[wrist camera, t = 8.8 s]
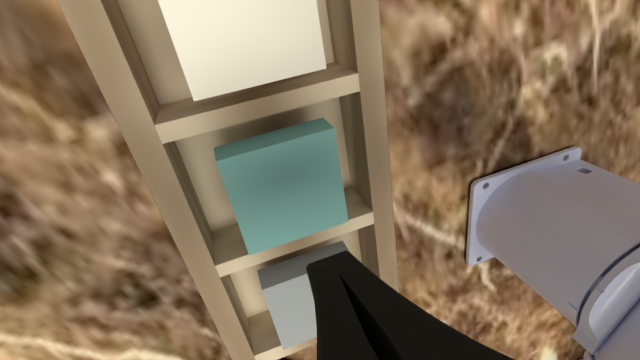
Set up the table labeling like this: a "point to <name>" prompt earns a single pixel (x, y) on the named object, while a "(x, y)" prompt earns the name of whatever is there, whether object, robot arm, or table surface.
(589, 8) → the table surface
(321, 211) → the teal key
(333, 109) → the key box
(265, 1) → the ivory key
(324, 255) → the slate key
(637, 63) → the table surface
